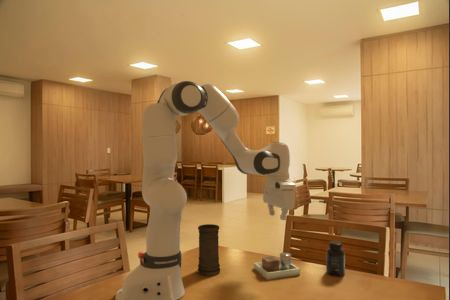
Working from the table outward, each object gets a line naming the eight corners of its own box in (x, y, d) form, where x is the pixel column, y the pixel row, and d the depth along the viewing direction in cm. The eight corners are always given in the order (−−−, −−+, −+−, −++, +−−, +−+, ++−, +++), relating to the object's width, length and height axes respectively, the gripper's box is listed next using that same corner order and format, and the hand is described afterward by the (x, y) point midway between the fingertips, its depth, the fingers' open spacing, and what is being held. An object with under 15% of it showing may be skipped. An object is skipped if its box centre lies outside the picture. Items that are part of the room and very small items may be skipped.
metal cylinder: (283, 272, 129) (283, 256, 129) (277, 268, 134) (277, 253, 134) (293, 270, 131) (293, 255, 131) (287, 267, 135) (287, 252, 135)
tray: (267, 279, 124) (267, 273, 124) (253, 268, 135) (253, 262, 135) (300, 275, 129) (300, 268, 129) (284, 264, 140) (284, 258, 140)
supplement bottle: (348, 274, 129) (348, 243, 129) (335, 277, 126) (335, 246, 126) (335, 268, 135) (335, 239, 135) (322, 272, 132) (322, 241, 132)
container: (217, 276, 127) (217, 229, 127) (194, 275, 129) (194, 228, 129) (222, 268, 136) (222, 224, 136) (201, 266, 138) (200, 223, 138)
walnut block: (267, 274, 127) (267, 261, 127) (262, 270, 132) (262, 257, 132) (279, 273, 129) (279, 260, 128) (273, 268, 133) (273, 256, 133)
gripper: (259, 180, 143) (259, 213, 143) (283, 185, 123) (282, 223, 123) (273, 180, 145) (272, 212, 145) (298, 185, 125) (297, 222, 125)
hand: (277, 217), depth 134 cm, fingers open, 8 cm apart
